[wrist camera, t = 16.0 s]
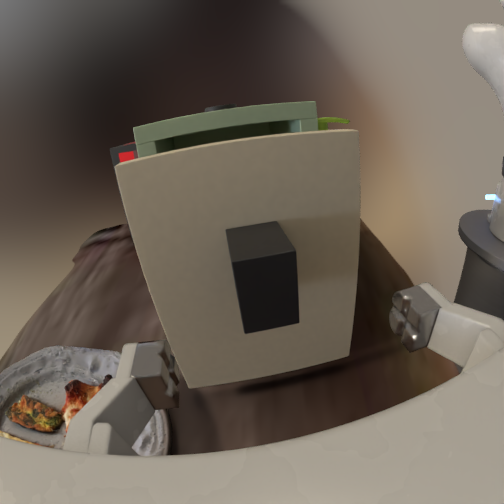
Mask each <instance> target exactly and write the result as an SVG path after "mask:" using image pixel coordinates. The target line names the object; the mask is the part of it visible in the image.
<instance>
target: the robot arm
mask: <svg viewBox="0 0 504 504" xmlns="http://www.w3.org/2000/svg"><path fill="white" fill-rule="evenodd" d="M499 1H500V3H501V5H502V7H503V8H504V0H499ZM462 43H463V50H464V53H465V56H466V58H467V60H468V62H469V63H470V65H471V66H472V67H473V69H474V70H475V71H476V72H478V74H480V75H481V76H482V77H483V78H484V79H485V80H486V81H487V82H488V83H489V85H490V86H491V88H492V89H493V90H494V92H495V94H496V96H497V97H498V100H499V102H500V104H501V107H502V111H503V115H504V26H503V25H498V24H493V23H477V24H469V25H468V27H467V28H466V29H465V31H464V34H463V39H462ZM502 175H503V179H502V180H501V181H500V182H499V183H498V185H497V189H496V194H495V195H486V197H485V199H494V204H493V208H492V213H491V214H488V215H487V220H488V222H489V223H490V225H489V229H490V231H491V232H492V233H493V234H494V235H495V236H496V237H497V238H498V239H500V240H501V241H503V242H504V157H503V163H502ZM392 302H393V304H394V306H393V308H392V309H391V310H390V315H389V321H390V325H391V328H392V330H393V331H394V333H395V334H397V335H399V336H402V338H401V342H402V343H403V345H404V346H405V347H406V349H407V350H408V351H409V353H411V352H413V351H416V350H419V349H421V348H424V347H427V348H429V349H431V350H433V351H435V352H436V353H438V354H440V355H442V356H444V357H445V358H447V359H449V360H451V361H453V362H454V363H456V364H458V365H460V366H462V367H463V369H462V371H461V373H460V375H458V376H456V377H454V378H452V379H451V380H449V381H447V382H445V383H443V384H441V385H439V386H437V387H435V388H433V389H431V390H429V391H427V392H425V393H423V394H421V395H419V396H416V397H414V398H412V399H410V400H408V401H405V402H403V403H401V404H398V405H396V406H394V407H391V408H389V409H386V410H384V411H381V412H378V413H376V414H373V415H370V416H368V417H365V418H362V419H359V420H356V421H353V422H351V423H347V424H344V425H341V426H338V427H335V428H331V429H328V430H325V431H321V432H318V433H314V434H310V435H306V436H302V437H298V438H294V439H290V440H285V441H281V442H276V443H271V444H266V445H261V446H255V447H249V448H243V449H236V450H228V451H220V452H211V453H201V454H188V455H168V456H140V455H138V454H137V453H136V452H135V451H134V450H133V449H132V446H133V445H134V443H135V442H136V440H137V439H138V437H139V436H140V434H141V433H142V431H143V430H144V428H145V427H146V425H147V424H148V422H149V421H150V419H151V418H152V416H153V415H154V413H155V412H156V411H155V410H162V409H172V408H179V391H178V389H177V387H176V386H177V385H178V383H179V368H178V365H177V361H176V359H175V357H174V356H172V355H171V354H170V353H171V347H170V345H169V343H168V341H167V340H158V341H148V342H139V343H128V344H125V345H124V346H123V350H122V354H121V357H120V361H119V365H118V369H117V374H116V378H112V379H111V380H110V381H109V382H108V383H107V384H106V385H105V386H104V387H103V388H102V389H101V390H100V391H99V392H98V393H97V394H96V395H95V396H94V397H93V398H92V399H91V400H90V401H89V402H88V403H87V404H86V405H85V406H84V407H83V408H82V409H81V410H80V411H79V412H78V413H77V414H76V415H75V416H74V417H73V418H72V419H71V420H70V423H69V427H68V431H67V434H66V439H65V443H64V447H63V450H62V449H55V448H50V447H44V446H39V445H34V444H29V443H25V442H21V441H16V440H13V439H9V438H5V437H2V436H0V504H504V321H503V320H502V319H501V318H498V317H495V316H492V315H489V314H486V313H483V312H480V311H477V310H474V309H471V308H468V307H465V306H462V305H459V304H456V303H453V304H451V303H450V302H449V301H448V300H447V299H446V298H445V297H444V296H443V295H442V294H441V293H440V292H439V291H438V290H436V289H435V288H434V287H433V286H432V285H431V284H430V283H427V282H425V283H422V284H419V285H416V286H413V287H410V288H407V289H404V290H400V291H397V292H395V293H394V295H393V298H392Z"/></svg>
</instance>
